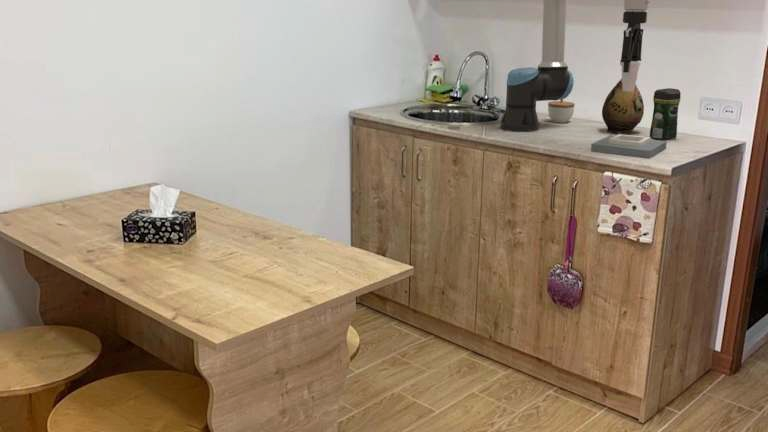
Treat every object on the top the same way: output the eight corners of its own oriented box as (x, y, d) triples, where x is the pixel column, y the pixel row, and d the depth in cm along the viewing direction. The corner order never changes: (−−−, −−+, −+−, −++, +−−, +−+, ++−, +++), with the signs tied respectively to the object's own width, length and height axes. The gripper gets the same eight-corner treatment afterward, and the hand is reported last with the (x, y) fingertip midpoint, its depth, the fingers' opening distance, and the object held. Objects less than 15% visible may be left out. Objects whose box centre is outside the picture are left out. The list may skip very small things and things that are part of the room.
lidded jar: (547, 118, 328) (549, 96, 325) (573, 120, 325) (575, 97, 322) (546, 123, 318) (547, 100, 315) (572, 124, 315) (574, 101, 312)
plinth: (590, 150, 265) (591, 139, 264) (609, 141, 281) (610, 130, 280) (649, 158, 254) (651, 146, 253) (665, 148, 270) (667, 137, 269)
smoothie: (615, 89, 265) (619, 48, 262) (633, 89, 266) (637, 48, 262) (622, 92, 259) (626, 49, 255) (640, 91, 260) (644, 49, 256)
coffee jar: (662, 135, 294) (667, 86, 288) (679, 138, 287) (685, 88, 282) (645, 137, 289) (650, 88, 283) (662, 141, 282) (668, 90, 277)
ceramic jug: (635, 137, 290) (644, 56, 281) (595, 132, 298) (602, 53, 289) (647, 130, 304) (655, 52, 295) (608, 126, 312) (615, 50, 303)
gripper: (637, 11, 246) (631, 84, 252) (655, 10, 261) (648, 79, 267) (614, 11, 250) (608, 83, 256) (633, 10, 265) (627, 78, 271)
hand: (629, 81), depth 262 cm, fingers closed on smoothie, 6 cm apart
